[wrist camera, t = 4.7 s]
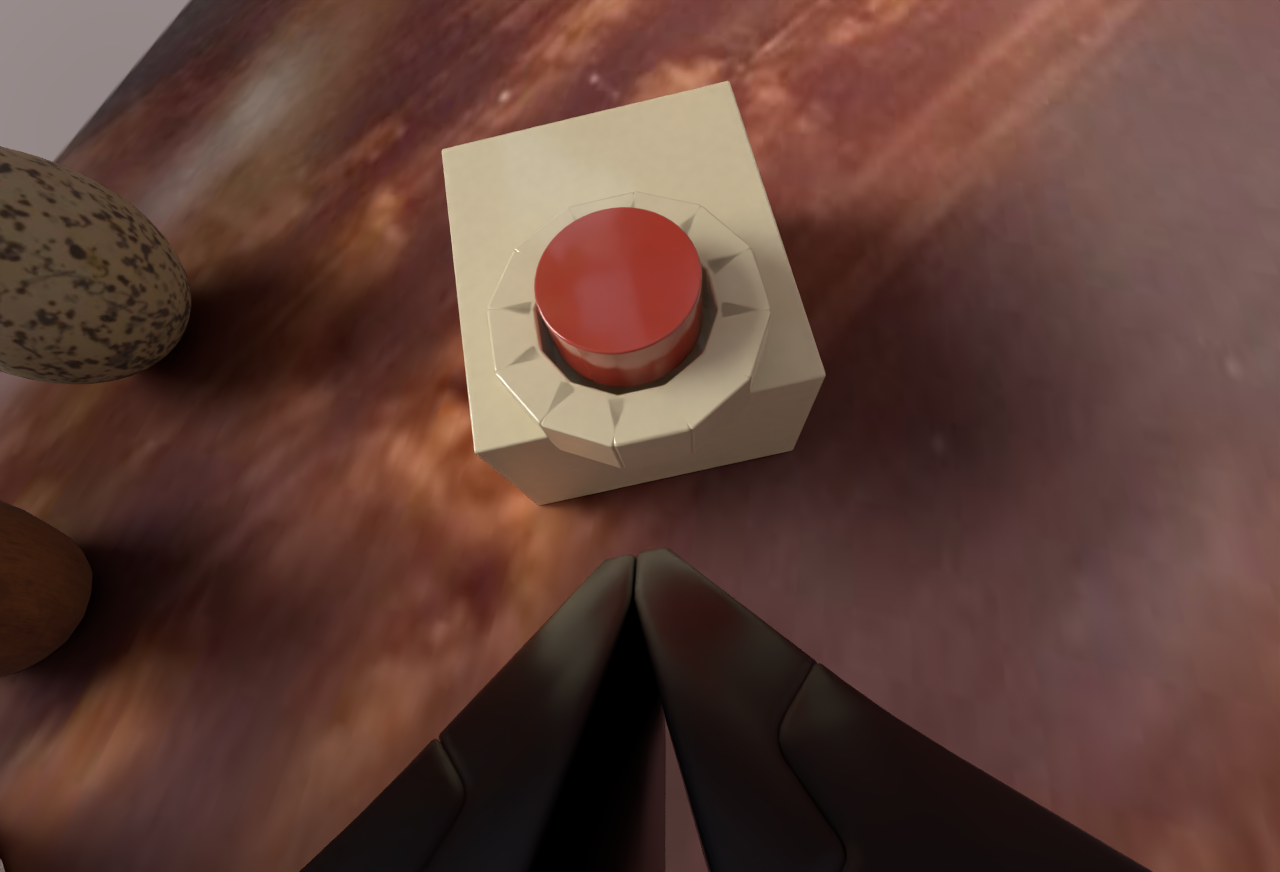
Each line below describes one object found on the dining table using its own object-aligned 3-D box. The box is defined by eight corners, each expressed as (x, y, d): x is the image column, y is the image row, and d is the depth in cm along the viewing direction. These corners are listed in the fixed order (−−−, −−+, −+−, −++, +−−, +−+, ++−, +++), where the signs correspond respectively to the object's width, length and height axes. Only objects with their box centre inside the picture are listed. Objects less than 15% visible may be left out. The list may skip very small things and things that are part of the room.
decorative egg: (242, 386, 24) (-55, 220, 15) (69, 438, 24) (-337, 307, 15) (234, 240, 27) (-26, 18, 17) (76, 288, 27) (-268, 93, 17)
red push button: (718, 368, 14) (720, 331, 12) (564, 402, 14) (545, 370, 12) (684, 239, 15) (681, 190, 14) (542, 272, 15) (522, 226, 14)
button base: (804, 485, 21) (860, 392, 13) (542, 542, 21) (449, 483, 13) (724, 214, 24) (731, 21, 17) (503, 265, 25) (413, 99, 17)
